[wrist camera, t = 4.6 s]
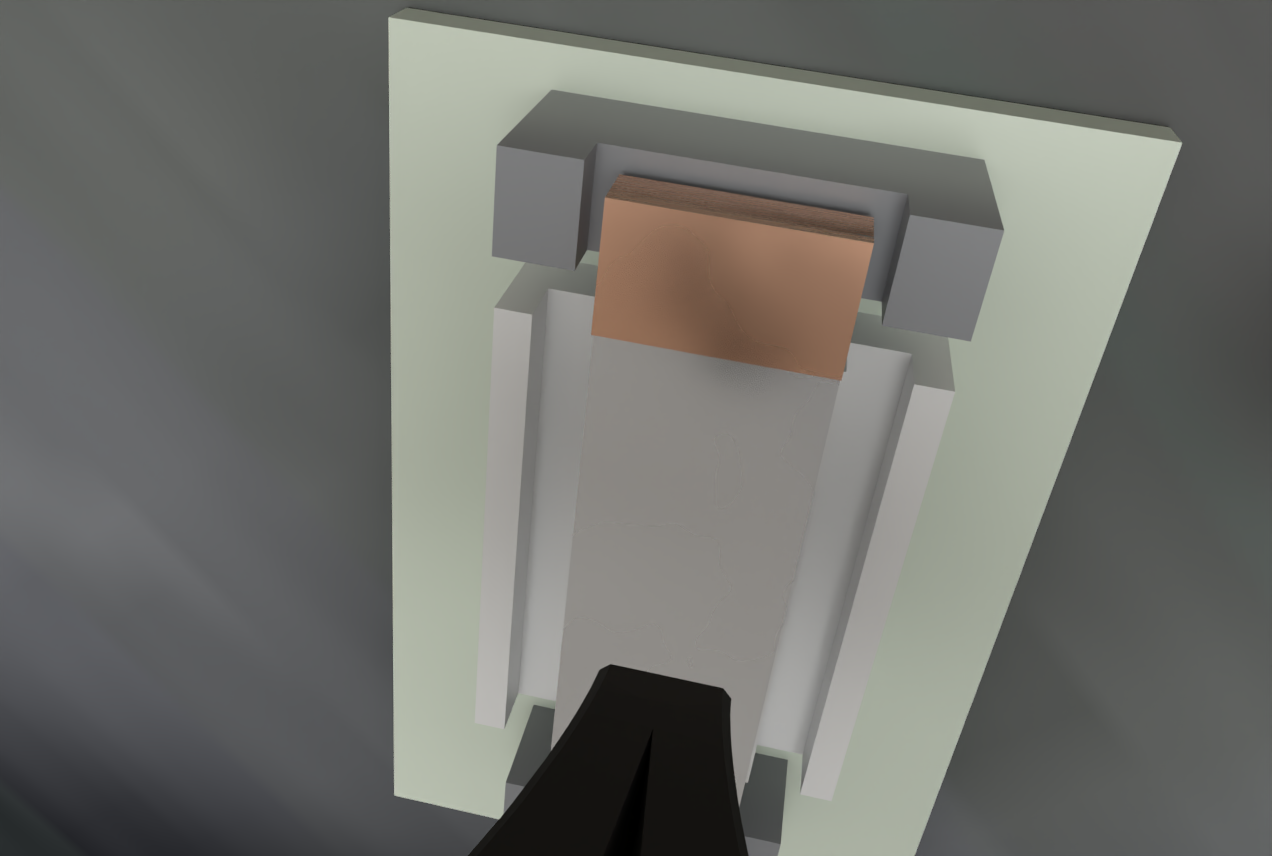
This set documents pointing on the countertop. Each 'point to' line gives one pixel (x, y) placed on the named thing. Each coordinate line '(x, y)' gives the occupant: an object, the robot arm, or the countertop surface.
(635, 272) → the strip
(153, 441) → the countertop surface
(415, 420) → the board
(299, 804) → the countertop surface
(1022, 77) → the countertop surface
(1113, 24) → the countertop surface
